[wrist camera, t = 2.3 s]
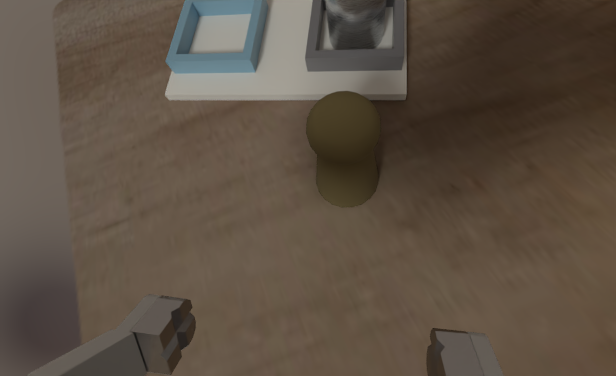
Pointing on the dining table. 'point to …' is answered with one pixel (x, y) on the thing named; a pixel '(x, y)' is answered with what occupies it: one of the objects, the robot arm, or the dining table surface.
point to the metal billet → (355, 23)
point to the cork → (345, 147)
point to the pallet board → (279, 53)
